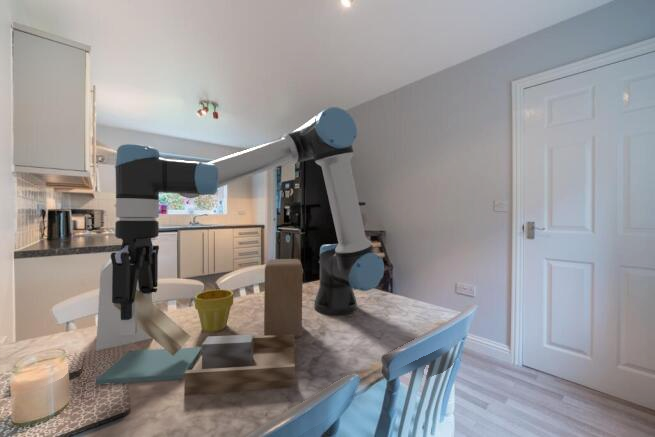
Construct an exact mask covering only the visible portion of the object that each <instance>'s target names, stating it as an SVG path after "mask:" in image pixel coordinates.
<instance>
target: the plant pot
mask: <svg viewBox="0 0 655 437" xmlns="http://www.w3.org/2000/svg"><path fill="white" fill-rule="evenodd" d="M233 305H234V292H233V291H232V290H229V289H221V288H220V289H218V288H217V289H210V290H206V291H205V290H204V291H201V292H199V293H197V294H196V295H195V296H194V309H195V310H196V311H197V314H198V317H199V322H200V328H201V330H202V331H203V332H206V333H213V332H214V333H215V332H219V331H222V330H224V329H225V328H226V327H227V325H228V321H229V316H230V311H231V307H232V306H233Z"/></svg>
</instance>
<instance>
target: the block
mask: <svg viewBox="0 0 655 437" xmlns="http://www.w3.org/2000/svg"><path fill="white" fill-rule="evenodd" d="M303 269H304V268H303V264H302V262H301V260H300V259H298V258H285V259H284V258H272V259H268V260H266V263H265V267H264V306H263V307H264V308H263V309H264V311H263V312H264V313H263V314H264V316H263V319H264V320H263V325H264V326H263V336H268V335H290V334H294V339H296V338H297V339H298V338H300V337H302V333H303V277H304V276H303V272H304V271H303Z"/></svg>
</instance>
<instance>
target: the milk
mask: <svg viewBox="0 0 655 437" xmlns="http://www.w3.org/2000/svg"><path fill="white" fill-rule="evenodd" d="M130 265H133V264H130ZM112 271H113V265H112V260H111V258H110V259H109V260H107V262H105V263H104V264H103V265H102V267H101V269H100V274H99V275H100V276H99V292H98V293H99V295H98V308H97V310H98V312H97V327H96V328H97V330H96V343H95V344H96V346H95V348H96V349H95V351H96V352H97V351H103V350H106V348H107V349H111V347H112V348H115V347H121V346H124V345H129V344H133V343H139V342H141V341H148V340H150V339H152V340H153V338H152V337H150V336H149V335H148V334H147V333H146V332H145V331H143V330H142V329H141V328H140V327H139V326H138V325H137V333H136V334H133V335H121V311H120V310H119V309H118V308H117V307H115V306H114V304H115V303H112ZM136 289H137V290H138V291H139V284H138V281H137V287H136ZM151 293H152V294H153V292H151ZM102 349H103V350H102Z"/></svg>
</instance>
